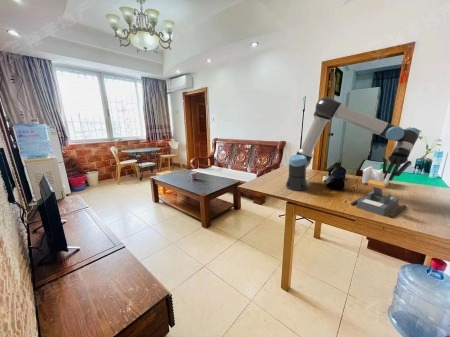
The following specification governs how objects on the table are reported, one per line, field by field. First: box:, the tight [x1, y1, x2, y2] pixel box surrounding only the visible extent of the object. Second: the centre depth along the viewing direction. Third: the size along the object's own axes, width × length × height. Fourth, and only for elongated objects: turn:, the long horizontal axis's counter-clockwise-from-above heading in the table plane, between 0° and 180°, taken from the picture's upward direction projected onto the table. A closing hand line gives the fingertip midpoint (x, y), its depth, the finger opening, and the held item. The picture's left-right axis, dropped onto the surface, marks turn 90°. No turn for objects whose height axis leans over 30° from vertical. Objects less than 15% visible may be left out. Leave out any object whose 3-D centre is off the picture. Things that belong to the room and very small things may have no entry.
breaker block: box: [356, 189, 400, 216], centre depth 104 cm, size 20×12×8 cm, turn 122°
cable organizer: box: [361, 166, 388, 184], centre depth 139 cm, size 15×11×12 cm
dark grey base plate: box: [350, 194, 407, 219], centre depth 105 cm, size 18×19×1 cm
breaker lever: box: [366, 180, 387, 199], centre depth 101 cm, size 2×7×13 cm
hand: (385, 184), depth 105 cm, fingers closed
